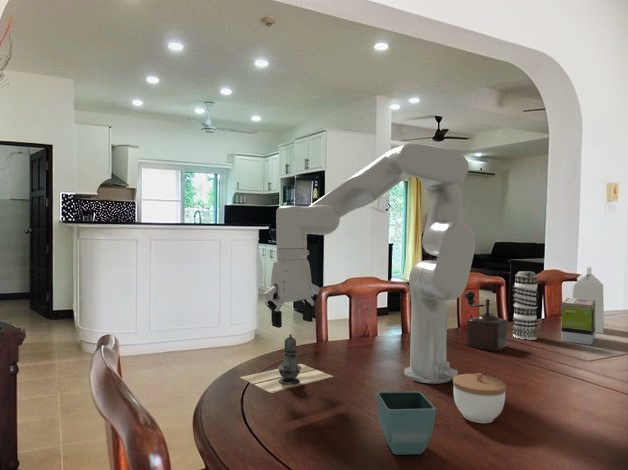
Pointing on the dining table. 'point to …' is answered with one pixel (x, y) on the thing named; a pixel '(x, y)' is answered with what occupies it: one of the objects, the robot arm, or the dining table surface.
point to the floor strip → (271, 375)
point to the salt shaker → (289, 363)
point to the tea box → (578, 321)
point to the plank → (304, 379)
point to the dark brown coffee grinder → (485, 328)
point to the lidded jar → (479, 396)
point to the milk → (591, 296)
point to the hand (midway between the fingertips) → (292, 323)
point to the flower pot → (406, 421)
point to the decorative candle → (525, 305)
